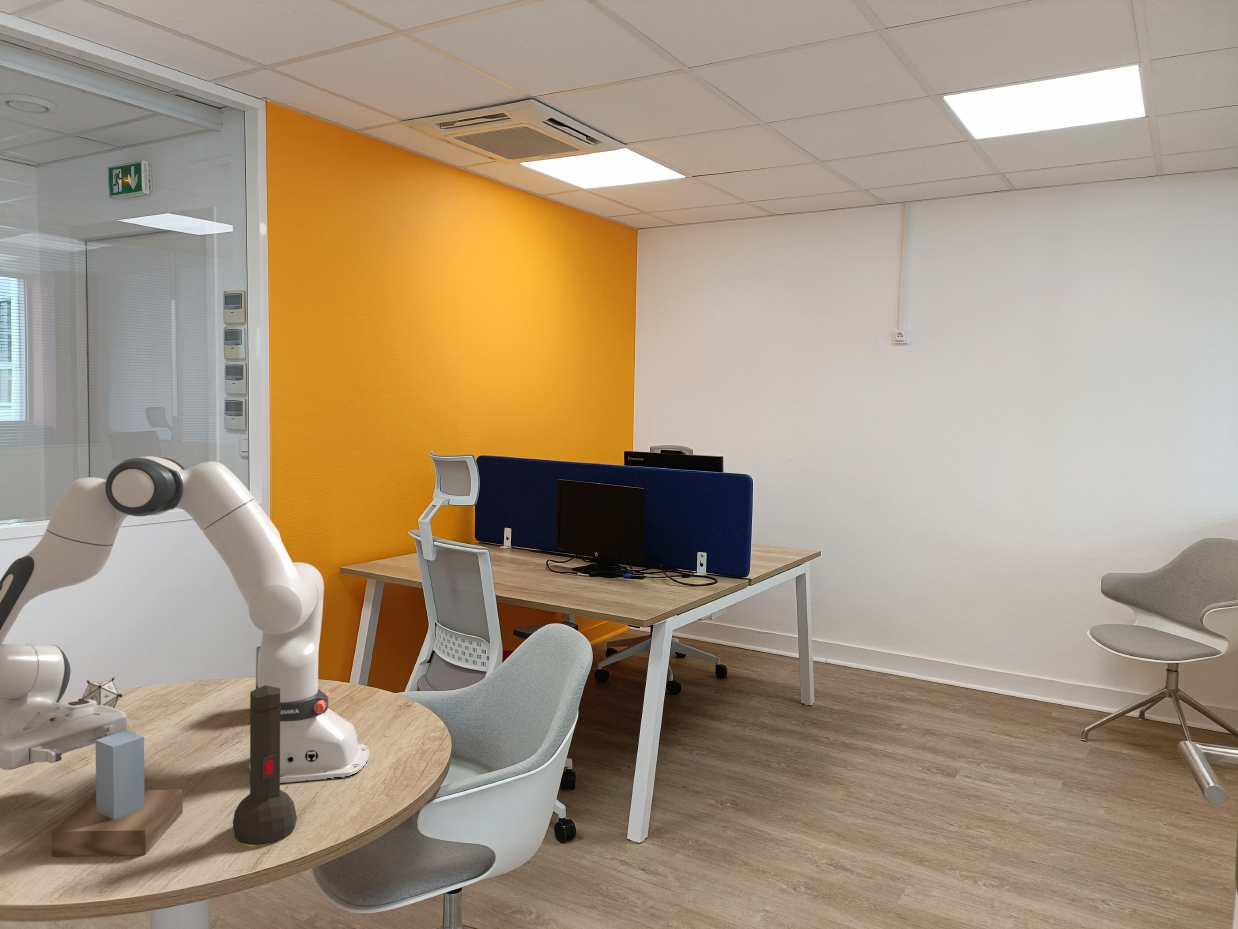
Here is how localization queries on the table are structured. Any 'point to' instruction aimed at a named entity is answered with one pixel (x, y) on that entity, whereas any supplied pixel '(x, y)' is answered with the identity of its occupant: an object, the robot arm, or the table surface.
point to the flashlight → (264, 777)
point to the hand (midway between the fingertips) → (86, 747)
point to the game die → (102, 693)
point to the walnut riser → (117, 827)
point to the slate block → (119, 774)
